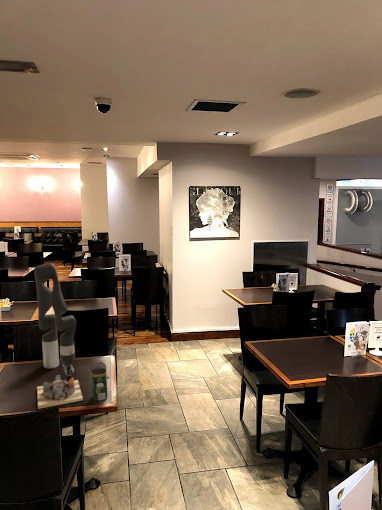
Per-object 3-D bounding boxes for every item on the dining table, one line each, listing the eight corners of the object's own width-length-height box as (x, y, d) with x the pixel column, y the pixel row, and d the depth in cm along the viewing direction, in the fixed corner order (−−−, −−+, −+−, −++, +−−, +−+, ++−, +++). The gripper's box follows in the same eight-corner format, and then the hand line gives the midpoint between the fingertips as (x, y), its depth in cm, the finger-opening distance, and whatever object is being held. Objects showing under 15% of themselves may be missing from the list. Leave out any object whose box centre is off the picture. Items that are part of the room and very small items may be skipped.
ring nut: (43, 387, 222) (42, 377, 222) (73, 382, 228) (72, 372, 227) (43, 401, 208) (43, 390, 207) (75, 395, 213) (75, 385, 212)
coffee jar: (92, 393, 219) (90, 361, 216) (107, 391, 221) (105, 359, 218) (92, 402, 210) (90, 368, 207) (107, 400, 212) (106, 367, 209)
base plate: (37, 389, 224) (36, 377, 223) (78, 382, 232) (77, 370, 231) (38, 408, 204) (37, 395, 203) (82, 400, 212) (82, 387, 211)
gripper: (55, 350, 222) (57, 379, 224) (66, 357, 212) (67, 388, 215) (68, 346, 226) (70, 375, 229) (79, 353, 217) (80, 383, 220)
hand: (69, 381), depth 222 cm, fingers closed
